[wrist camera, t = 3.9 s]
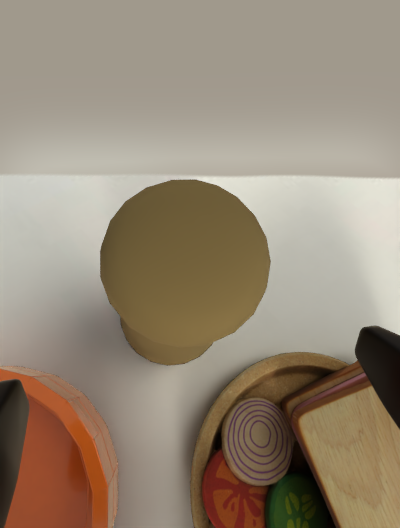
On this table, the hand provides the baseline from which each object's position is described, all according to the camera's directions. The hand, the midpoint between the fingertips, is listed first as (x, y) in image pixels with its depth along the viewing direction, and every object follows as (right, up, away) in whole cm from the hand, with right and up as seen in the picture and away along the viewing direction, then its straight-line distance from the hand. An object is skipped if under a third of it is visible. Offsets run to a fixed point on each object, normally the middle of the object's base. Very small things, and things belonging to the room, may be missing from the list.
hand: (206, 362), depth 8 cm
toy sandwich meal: (+6, -8, +9) cm, 13 cm away
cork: (-2, 0, +11) cm, 11 cm away
